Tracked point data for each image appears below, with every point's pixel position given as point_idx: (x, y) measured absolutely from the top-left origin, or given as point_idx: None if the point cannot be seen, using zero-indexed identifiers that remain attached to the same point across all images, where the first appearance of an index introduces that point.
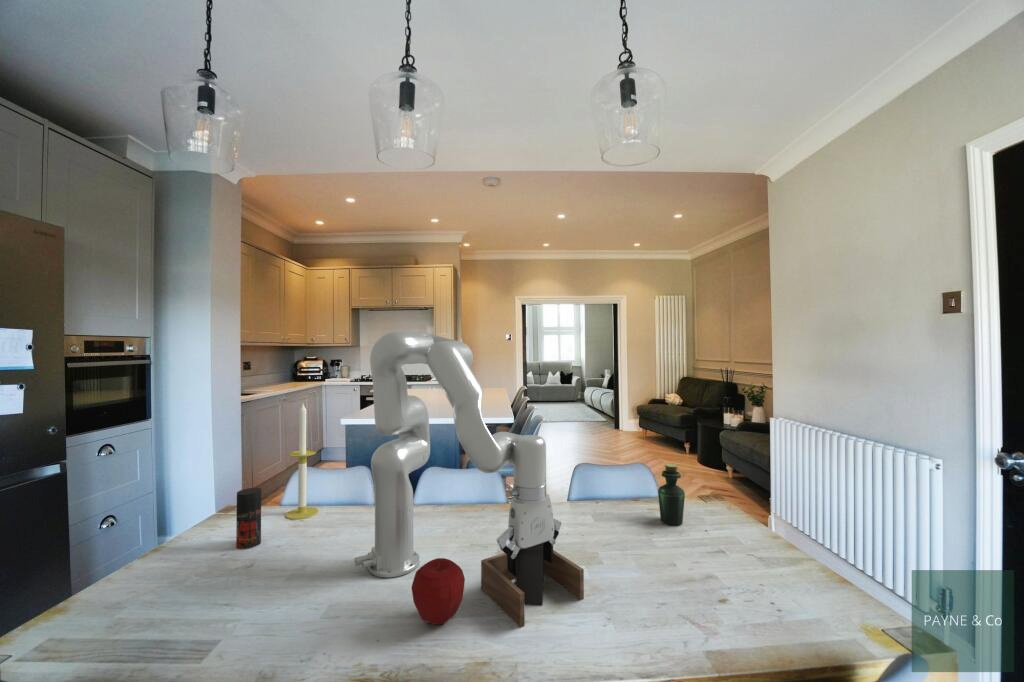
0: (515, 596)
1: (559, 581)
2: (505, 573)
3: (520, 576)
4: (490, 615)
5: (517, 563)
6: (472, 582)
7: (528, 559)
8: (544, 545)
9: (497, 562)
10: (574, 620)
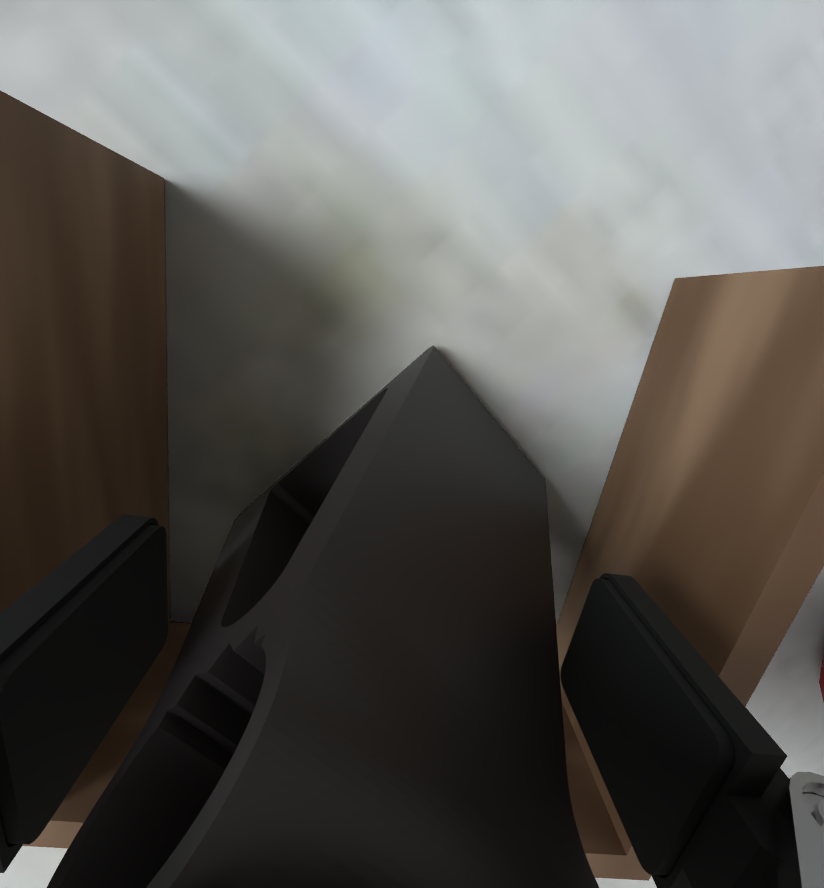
0: None
1: (154, 433)
2: None
3: (528, 571)
4: None
5: (698, 677)
6: None
7: (470, 668)
8: (47, 775)
9: None
10: (388, 34)
